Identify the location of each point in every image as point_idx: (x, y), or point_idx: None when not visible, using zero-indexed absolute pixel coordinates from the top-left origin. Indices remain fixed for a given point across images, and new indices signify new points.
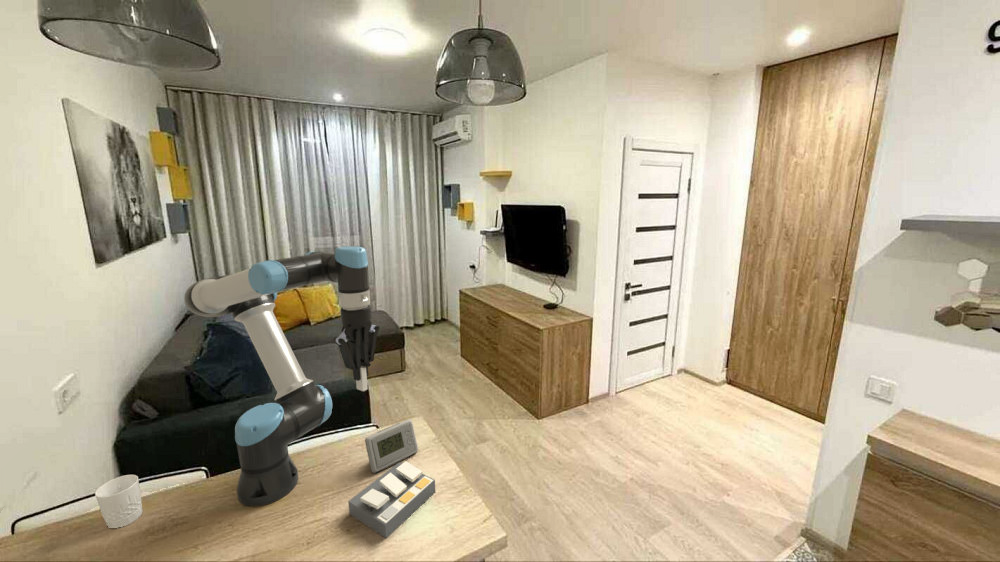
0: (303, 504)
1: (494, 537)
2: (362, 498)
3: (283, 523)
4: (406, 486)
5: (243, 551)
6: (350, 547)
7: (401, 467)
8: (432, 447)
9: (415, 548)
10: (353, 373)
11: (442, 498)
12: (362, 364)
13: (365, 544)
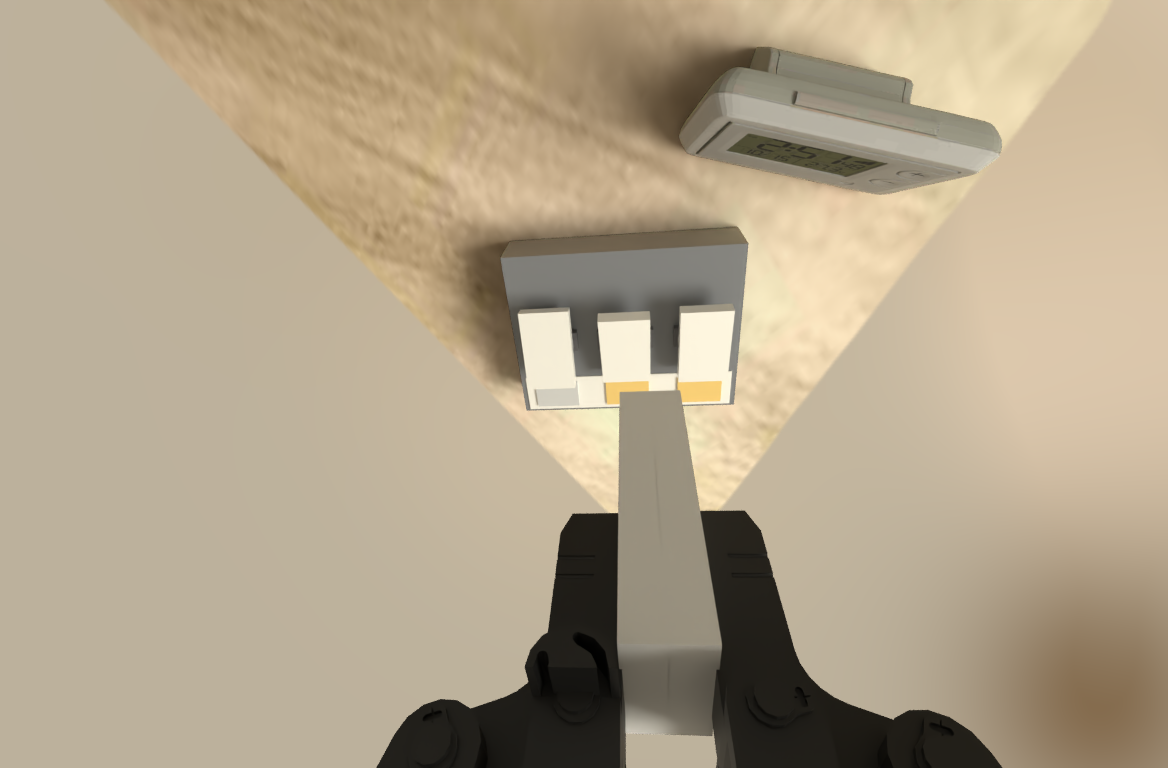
0: (413, 50)
1: None
2: (520, 322)
3: (332, 86)
4: (648, 379)
5: (208, 97)
6: (457, 338)
7: (698, 322)
8: (938, 212)
9: (561, 449)
10: (554, 598)
11: (716, 407)
12: (716, 732)
13: (488, 359)
